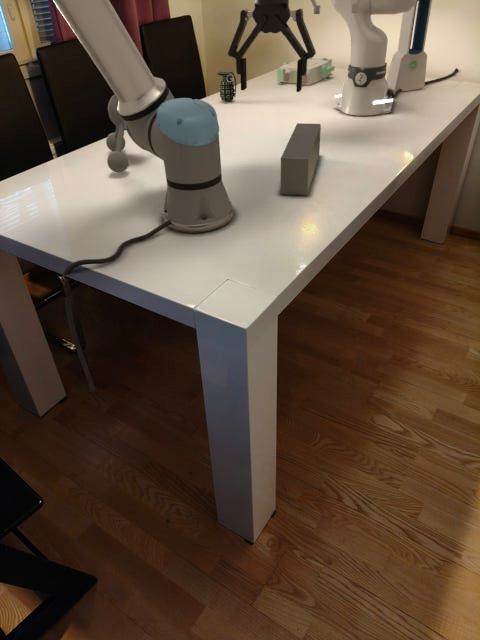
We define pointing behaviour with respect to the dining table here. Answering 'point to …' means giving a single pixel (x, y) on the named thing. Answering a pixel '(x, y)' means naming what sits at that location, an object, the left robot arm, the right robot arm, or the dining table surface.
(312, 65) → the decorative block
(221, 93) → the grenade
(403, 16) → the electronic device
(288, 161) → the box
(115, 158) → the molecular model
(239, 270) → the dining table surface
